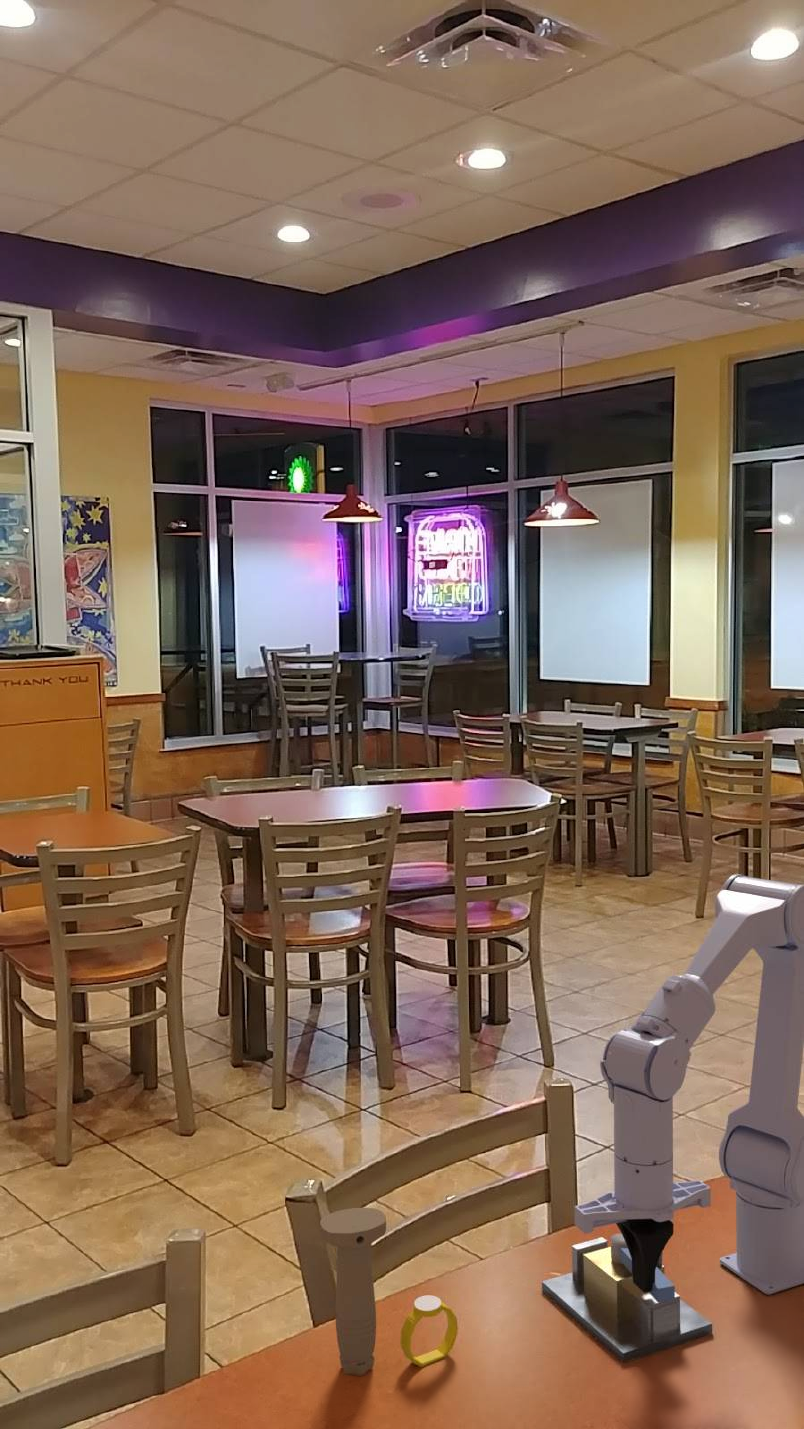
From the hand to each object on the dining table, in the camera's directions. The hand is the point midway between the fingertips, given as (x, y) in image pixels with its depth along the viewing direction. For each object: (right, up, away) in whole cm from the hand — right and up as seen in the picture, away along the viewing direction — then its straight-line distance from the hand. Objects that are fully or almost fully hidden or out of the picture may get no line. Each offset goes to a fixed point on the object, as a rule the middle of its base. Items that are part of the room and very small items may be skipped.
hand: (644, 1286), depth 121 cm
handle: (-28, -8, -1) cm, 29 cm away
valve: (-1, -6, +8) cm, 10 cm away
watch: (-21, -7, 0) cm, 23 cm away
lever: (0, -1, +3) cm, 3 cm away
